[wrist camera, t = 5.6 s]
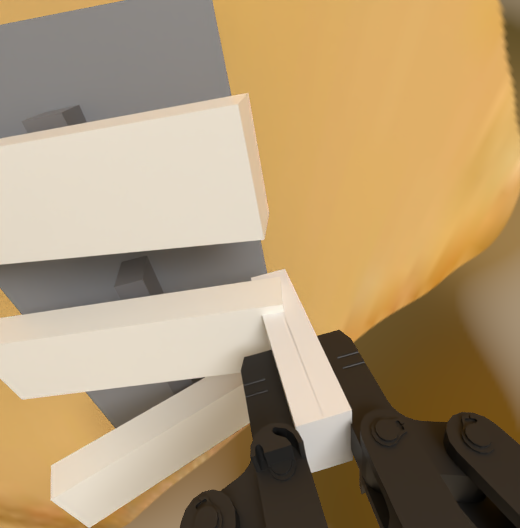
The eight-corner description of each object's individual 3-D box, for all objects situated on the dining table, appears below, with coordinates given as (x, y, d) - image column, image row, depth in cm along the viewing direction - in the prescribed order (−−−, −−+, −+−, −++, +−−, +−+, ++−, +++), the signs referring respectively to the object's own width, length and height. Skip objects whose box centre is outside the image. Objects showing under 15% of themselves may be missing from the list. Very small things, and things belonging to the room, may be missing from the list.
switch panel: (130, 386, 25) (117, 467, 20) (-91, 60, 13) (-264, 62, 8) (276, 345, 26) (298, 412, 21) (202, 1, 14) (213, -31, 9)
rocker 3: (86, 495, 16) (88, 528, 15) (51, 465, 15) (50, 500, 13) (280, 375, 20) (294, 393, 19) (272, 338, 18) (287, 356, 17)
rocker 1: (-39, 246, 12) (-79, 272, 11) (-112, 159, 10) (-171, 176, 9) (269, 212, 10) (264, 239, 9) (248, 93, 8) (238, 104, 7)
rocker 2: (42, 368, 15) (21, 399, 14) (-4, 318, 13) (-32, 348, 12) (289, 336, 14) (293, 366, 13) (279, 276, 12) (282, 304, 11)
